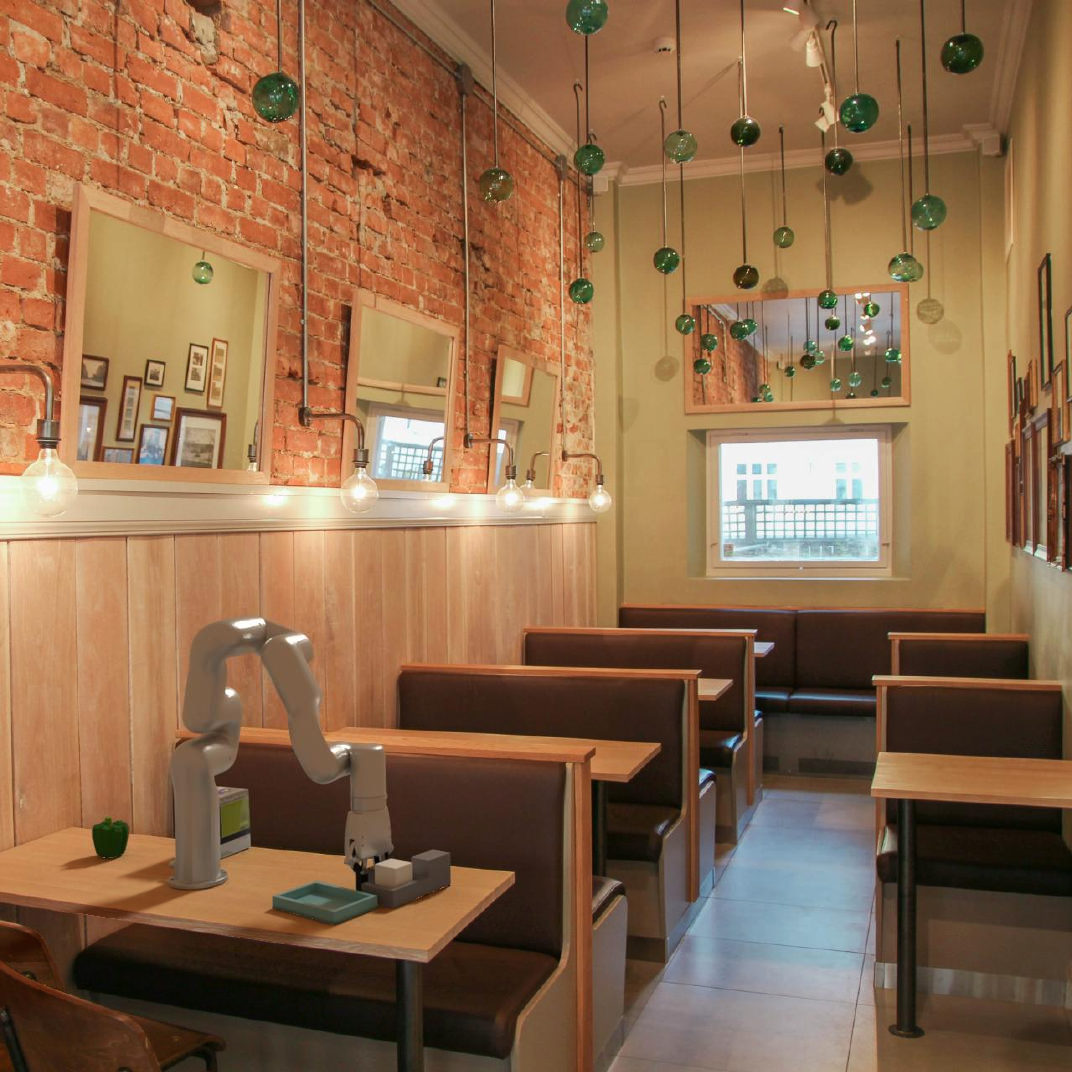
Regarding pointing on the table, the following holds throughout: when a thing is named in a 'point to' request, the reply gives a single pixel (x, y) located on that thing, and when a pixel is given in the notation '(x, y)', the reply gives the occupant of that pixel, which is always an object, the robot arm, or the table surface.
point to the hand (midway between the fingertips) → (369, 887)
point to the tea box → (233, 820)
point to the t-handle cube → (390, 873)
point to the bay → (415, 880)
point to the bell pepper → (110, 837)
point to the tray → (325, 902)
